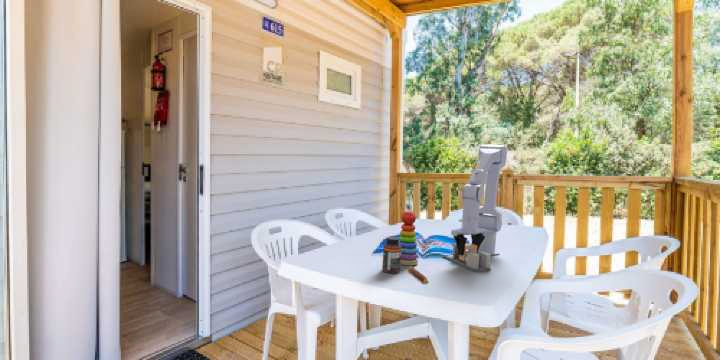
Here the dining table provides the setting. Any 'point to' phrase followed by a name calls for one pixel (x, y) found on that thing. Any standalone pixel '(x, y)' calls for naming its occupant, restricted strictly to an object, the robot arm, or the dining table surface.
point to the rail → (463, 263)
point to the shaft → (456, 255)
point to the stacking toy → (408, 240)
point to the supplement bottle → (391, 255)
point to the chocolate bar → (417, 274)
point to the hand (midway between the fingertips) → (467, 254)
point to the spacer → (473, 249)
